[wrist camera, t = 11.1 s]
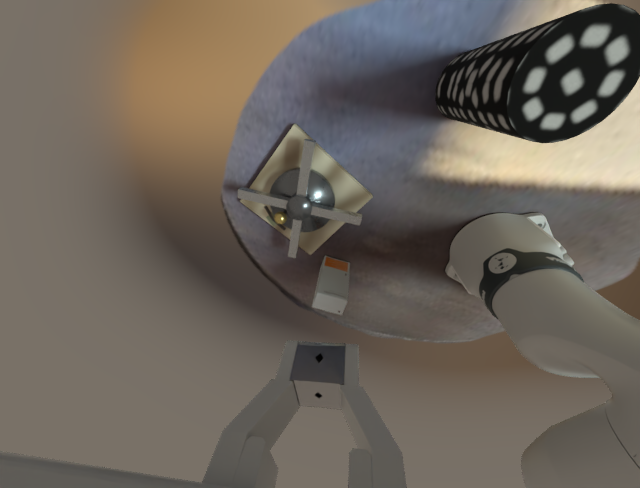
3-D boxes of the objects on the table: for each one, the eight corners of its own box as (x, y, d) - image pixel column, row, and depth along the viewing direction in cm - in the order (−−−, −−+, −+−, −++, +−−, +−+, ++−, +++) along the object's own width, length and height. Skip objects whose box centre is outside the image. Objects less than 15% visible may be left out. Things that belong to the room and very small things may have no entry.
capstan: (313, 132, 39) (309, 136, 35) (364, 213, 45) (365, 224, 41) (241, 186, 45) (231, 193, 42) (295, 250, 51) (290, 262, 48)
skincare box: (350, 261, 53) (349, 301, 43) (344, 275, 55) (342, 316, 45) (324, 254, 53) (316, 292, 43) (319, 268, 55) (311, 307, 45)
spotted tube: (510, 89, 34) (662, 85, 17) (452, 132, 38) (531, 164, 21) (483, 33, 31) (631, -37, 14) (424, 85, 35) (487, 78, 18)
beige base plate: (372, 194, 44) (372, 197, 43) (311, 252, 53) (310, 255, 52) (295, 123, 40) (293, 124, 38) (242, 199, 48) (239, 201, 47)
